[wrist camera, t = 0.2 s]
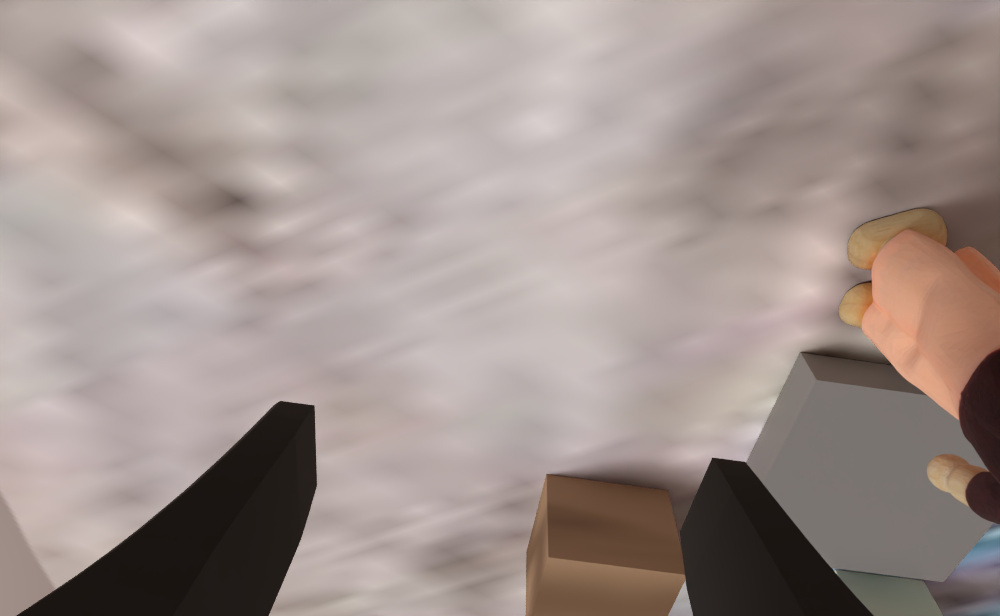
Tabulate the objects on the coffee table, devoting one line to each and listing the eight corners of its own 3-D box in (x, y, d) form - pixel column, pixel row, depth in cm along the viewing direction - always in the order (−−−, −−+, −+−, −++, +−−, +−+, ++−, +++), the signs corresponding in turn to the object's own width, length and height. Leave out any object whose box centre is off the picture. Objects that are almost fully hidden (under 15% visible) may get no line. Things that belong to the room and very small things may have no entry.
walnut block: (636, 563, 29) (650, 651, 25) (526, 549, 28) (525, 636, 25) (667, 488, 26) (687, 575, 23) (546, 471, 26) (548, 557, 22)
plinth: (924, 550, 27) (943, 582, 26) (716, 523, 27) (725, 554, 25) (1051, 387, 22) (1082, 417, 21) (800, 352, 22) (816, 380, 21)
